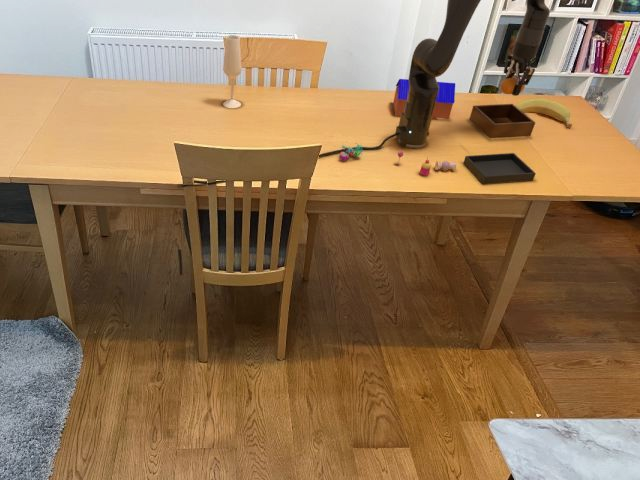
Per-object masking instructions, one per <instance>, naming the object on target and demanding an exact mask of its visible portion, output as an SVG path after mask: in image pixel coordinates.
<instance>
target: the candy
mask: <svg viewBox="0 0 640 480" xmlns="http://www.w3.org/2000/svg"><path fill="white" fill-rule="evenodd" d="M397 156H398V162H397V165H400V159H401V158H402V157H403V156H404V153H403V151H402V150H401V151H398V152H397ZM428 157H429V156H426V158H427V159H426V160H425V161H424V162H423V163H422V164H421V165H420V169H419V174H420V175H421V176H429V175H430V171H431V168H432V165H431V163H430V160H429V158H428ZM456 168H457V163H456V161H453V162H449V161H448V160H447V161H446V160H444V161H443V162H439V161H435V164H434V170H436V171H438V170H440V169H441V170H442V171H448V170H449V169H450V170H452V171H455V170H456Z"/></svg>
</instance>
